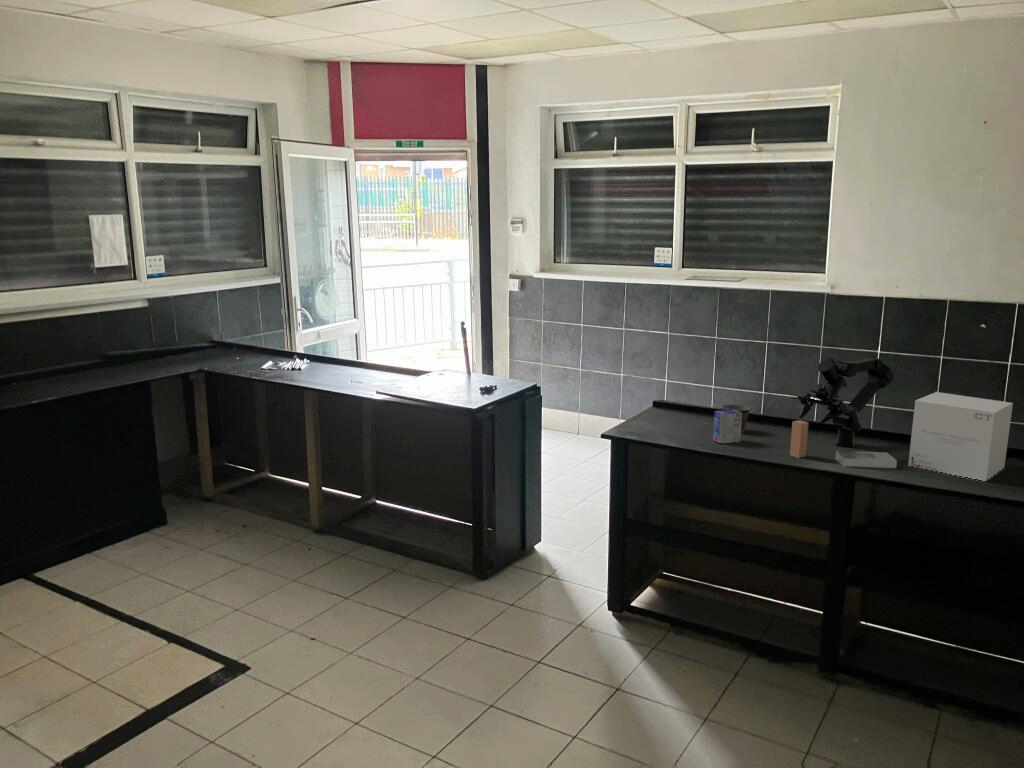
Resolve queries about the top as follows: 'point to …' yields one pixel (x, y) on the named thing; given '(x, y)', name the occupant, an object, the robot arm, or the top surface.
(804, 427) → the square peg
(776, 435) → the top surface
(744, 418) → the ceramic cup
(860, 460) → the grey flat block
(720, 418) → the ink cartridge box
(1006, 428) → the white cardboard box
